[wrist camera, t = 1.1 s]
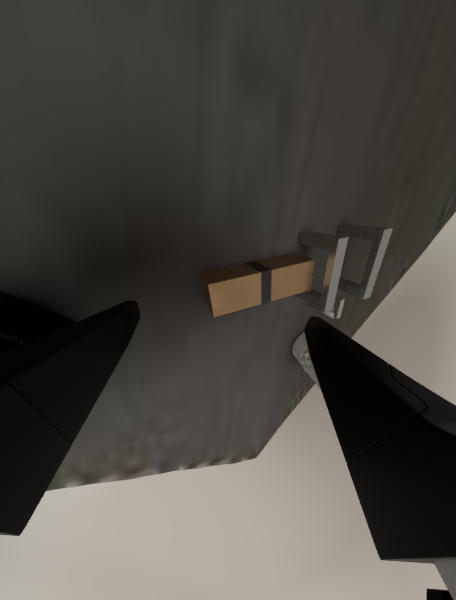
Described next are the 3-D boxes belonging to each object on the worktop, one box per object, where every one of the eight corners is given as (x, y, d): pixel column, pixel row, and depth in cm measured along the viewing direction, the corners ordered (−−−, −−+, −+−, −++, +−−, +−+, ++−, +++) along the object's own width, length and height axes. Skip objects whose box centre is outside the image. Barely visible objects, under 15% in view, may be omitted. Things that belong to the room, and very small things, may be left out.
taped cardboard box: (205, 302, 21) (213, 317, 18) (200, 272, 19) (208, 284, 16) (291, 280, 24) (310, 290, 21) (293, 252, 22) (315, 259, 19)
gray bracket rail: (292, 310, 26) (320, 331, 22) (299, 232, 21) (338, 238, 16) (330, 299, 28) (363, 316, 23) (345, 224, 23) (392, 227, 18)
